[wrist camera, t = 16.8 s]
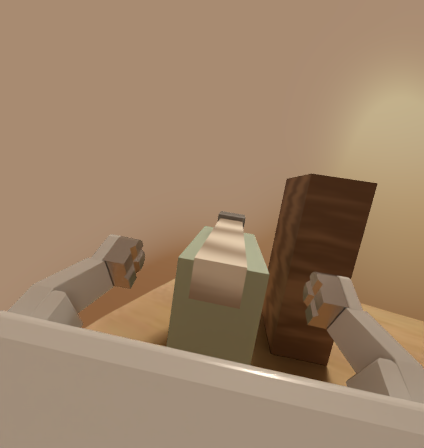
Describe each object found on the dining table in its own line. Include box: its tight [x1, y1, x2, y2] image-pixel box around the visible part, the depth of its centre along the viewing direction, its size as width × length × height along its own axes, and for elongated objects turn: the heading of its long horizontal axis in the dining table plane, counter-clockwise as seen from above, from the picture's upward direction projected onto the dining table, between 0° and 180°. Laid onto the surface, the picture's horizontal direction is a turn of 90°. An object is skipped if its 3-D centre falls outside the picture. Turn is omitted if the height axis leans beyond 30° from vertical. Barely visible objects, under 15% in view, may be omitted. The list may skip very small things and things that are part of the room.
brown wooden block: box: [262, 174, 377, 366], centre depth 37 cm, size 14×8×26 cm, turn 174°
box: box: [166, 226, 270, 365], centre depth 29 cm, size 17×8×16 cm, turn 174°
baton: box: [189, 211, 247, 309], centre depth 23 cm, size 22×4×3 cm, turn 173°
